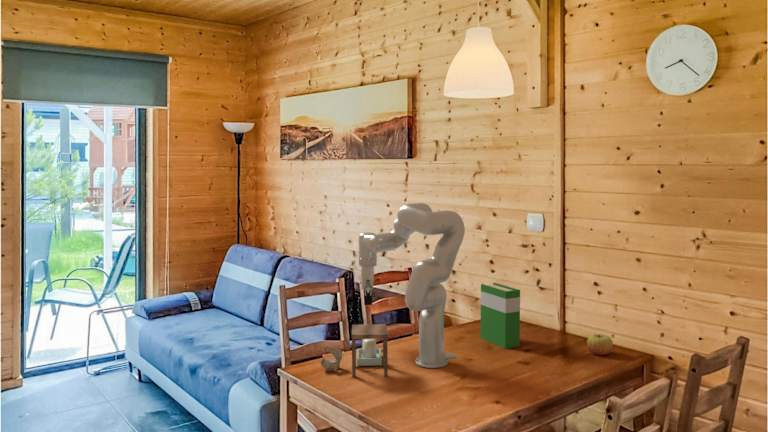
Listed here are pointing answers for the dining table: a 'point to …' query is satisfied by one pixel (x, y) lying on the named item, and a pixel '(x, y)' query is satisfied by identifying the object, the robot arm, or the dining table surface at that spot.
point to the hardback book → (500, 315)
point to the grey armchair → (368, 361)
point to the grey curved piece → (330, 363)
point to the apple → (599, 344)
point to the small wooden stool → (369, 333)
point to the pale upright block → (369, 348)
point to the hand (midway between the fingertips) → (367, 302)
